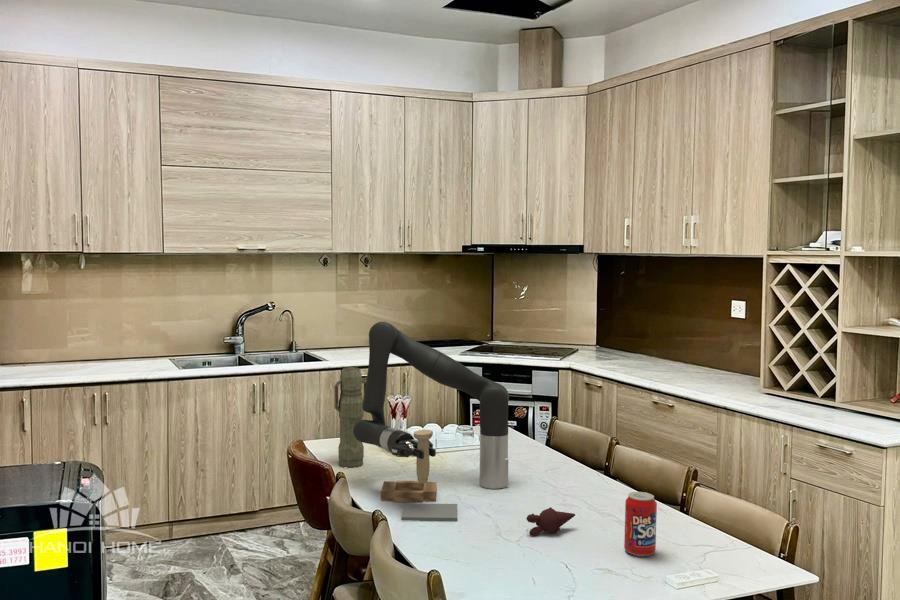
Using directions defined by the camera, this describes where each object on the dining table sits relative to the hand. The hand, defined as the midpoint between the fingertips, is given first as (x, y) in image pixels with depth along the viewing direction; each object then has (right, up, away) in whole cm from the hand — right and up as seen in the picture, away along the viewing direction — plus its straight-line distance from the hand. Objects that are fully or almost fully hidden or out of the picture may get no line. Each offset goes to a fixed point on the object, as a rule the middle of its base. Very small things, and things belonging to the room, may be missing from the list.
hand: (428, 454), depth 225 cm
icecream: (+34, -19, -13) cm, 41 cm away
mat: (0, -18, +1) cm, 18 cm away
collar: (-6, -16, +17) cm, 24 cm away
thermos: (-29, -14, +51) cm, 60 cm away
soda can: (+55, -20, -27) cm, 65 cm away
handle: (-2, -9, +3) cm, 10 cm away
